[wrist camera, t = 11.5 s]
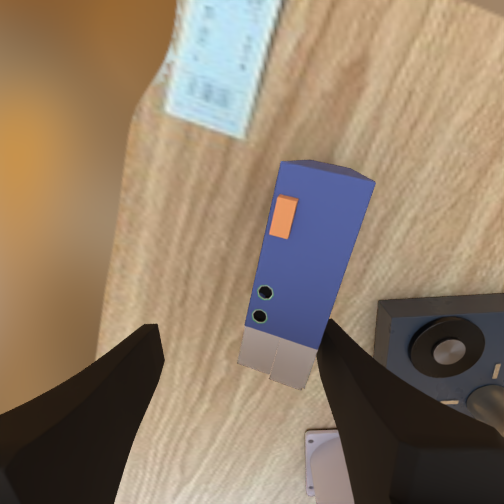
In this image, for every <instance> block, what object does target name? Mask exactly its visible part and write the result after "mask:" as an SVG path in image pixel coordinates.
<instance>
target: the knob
mask: <svg viewBox="0 0 504 504" xmlns="http://www.w3.org/2000/svg"><path fill="white" fill-rule="evenodd" d="M467 408H468V410H469V411H470V412H471V414H472V415H473V416H474V417H475V419H477V420H479V421H481V422H483V423H486V424H488V425H490V426H492V427H495V429H496V430H497V431H498V432H499V433H500V434H501V435H502V436H503V437H504V388H503V387H501V386H497V385H488V386H484V387H481V388H479V389H477V390H475V391H474V392H473V393H472V394H471V395H470V396H469V397H468V399H467Z"/></svg>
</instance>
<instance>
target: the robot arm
mask: <svg viewBox="0 0 504 504" xmlns="http://www.w3.org/2000/svg"><path fill="white" fill-rule="evenodd" d="M316 357H317V362H318V367H319V372H320V377H321V380H322V383H323V387H324V390H325V393H326V396H327V399H328V402H329V405H330V408H331V411H332V414H333V417H334V420H335V423H336V426H337V429H338V430H312V431H307V432H306V433H305V462H306V493H307V495H308V496H315V497H316V503H317V504H504V437H503V436H502V435H501V434H500V433H499V432H498V431H497V430H496V429H495V427H492V426H490V425H488V424H486V423H483V422H481V421H479V420H477V419H474V418H472V417H470V416H468V415H465V414H463V413H461V412H459V411H457V410H455V409H453V408H451V407H449V406H447V405H445V404H443V403H441V402H439V401H437V400H436V399H434V398H432V397H430V396H428V395H427V394H425V393H423V392H422V391H420V390H418V389H417V388H415V387H413V386H412V385H410V384H408V383H407V382H405V381H404V380H402V379H401V378H399V377H398V376H396V375H395V374H394V373H392V372H391V371H389V370H388V369H387V368H385V367H384V366H383V365H381V364H380V363H379V362H377V361H376V360H375V359H374V358H373V357H371V356H370V355H369V354H368V353H367V352H365V351H364V350H363V349H362V348H361V347H360V346H359V345H358V344H357V343H356V342H355V341H354V340H353V339H352V338H351V337H350V336H349V335H348V334H347V333H346V332H345V331H344V330H343V329H342V328H341V327H340V326H339V325H338V324H337V323H336V322H335V321H334V320H333V319H328V322H327V325H326V328H325V331H324V334H323V337H322V340H321V343H320V345H319V348H318V352H317V356H316ZM164 361H165V359H164V354H163V349H162V344H161V339H160V334H159V328H158V324H144V325H143V326H141V327H140V328H138V329H137V330H136V331H134V332H133V333H132V334H131V335H129V336H128V337H127V338H126V339H124V340H123V341H122V342H120V343H119V344H118V345H117V346H115V347H114V348H113V349H111V350H110V351H109V352H108V353H106V354H105V355H103V356H102V357H101V358H99V359H98V360H97V361H95V362H94V363H92V364H91V365H90V366H88V367H87V368H85V369H84V370H83V371H81V372H79V373H78V374H76V375H75V376H73V377H71V378H70V379H68V380H67V381H65V382H63V383H62V384H60V385H58V386H56V387H55V388H53V389H51V390H49V391H47V392H45V393H43V394H42V395H40V396H38V397H36V398H34V399H33V400H31V401H28V402H26V403H24V404H22V405H20V406H18V407H16V408H14V409H12V410H10V411H8V412H5V413H4V414H1V415H0V504H114V502H115V498H116V495H117V491H118V488H119V485H120V482H121V478H122V475H123V472H124V468H125V465H126V462H127V459H128V456H129V453H130V450H131V447H132V444H133V441H134V438H135V436H136V433H137V431H138V428H139V426H140V424H141V422H142V419H143V417H144V415H145V412H146V410H147V408H148V405H149V403H150V401H151V399H152V396H153V394H154V392H155V389H156V387H157V384H158V382H159V379H160V375H161V372H162V368H163V365H164Z"/></svg>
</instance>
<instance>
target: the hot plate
mask: <svg viewBox="0 0 504 504" xmlns="http://www.w3.org/2000/svg"><path fill="white" fill-rule="evenodd" d="M448 316H456V317H462V318H465V319H468V320H470V321H471V322H473V323H474V324H475V325H476V326H478V327H479V328H480V329H481V331H482V332H483V334H484V337H485V349H484V352H483V354H482V356H481V358H480V359H479V360H478V361H477V363H476V364H475V365H474V366H472V367H471V368H470V369H468V370H467V371H465V372H463V373H461V374H459V375H456V376H453V377H448V378H433V377H428V376H426V375H424V374H422V373H420V372H419V371H417V370H416V369H415V367H414V366H413V364H412V363H411V361H410V359H409V356H408V346H409V343H410V340H411V338H412V337H413V335H414V334H415V333H416V332H417V330H418V329H420V328H421V327H422V326H423V325H425V324H427V323H428V322H430V321H432V320H435V319H438V318H442V317H448ZM373 358H374V359H375V360H376V361H377V362H379V363H380V364H381V365H383V366H384V367H385V368H387V369H388V370H389V371H391V372H392V373H394V374H395V375H396V376H398V377H399V378H401V379H402V380H404V381H405V382H407V383H408V384H410V385H412V386H413V387H415V388H417V389H418V390H420V391H422V392H423V393H425V394H427V395H428V396H430V397H432V398H434V399H436V400H437V401H439V402H441V403H443V404H445V405H447V406H449V407H451V408H453V409H455V410H457V411H459V412H461V413H463V414H465V415H468V416H470V417H472V418H474V419H475V417H474V416H473V415H472V414H471V412H470V411H469V410H468V408H467V399H468V397H469V396H470V395H471V394H472V393H473V392H474V391H475V390H477V389H479V388H481V387H484V386H488V385H497V386H501V387H503V388H504V293H500V294H483V295H465V296H447V297H430V298H412V299H394V300H379V301H378V312H377V323H376V334H375V346H374V357H373Z"/></svg>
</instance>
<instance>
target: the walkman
mask: <svg viewBox="0 0 504 504" xmlns="http://www.w3.org/2000/svg"><path fill="white" fill-rule="evenodd" d="M375 184H376V183H375V181H373V180H371V179H369V178H367V177H365V176H364V175H362V174H360V173H358V172H356V171H354V170H352V169H351V168H346V167H342V166H337V165H332V164H328V163H323V162H318V161H314V160H296V161H281V163H280V168H279V172H278V177H277V181H276V186H275V190H274V195H273V199H272V204H271V208H270V213H269V217H268V222H267V226H266V231H265V235H264V240H263V244H262V249H261V253H260V258H259V262H258V267H257V271H256V276H255V280H254V285H253V289H252V294H251V298H250V303H249V307H248V312H247V316H246V321H245V330H244V334H243V339H242V343H241V347H240V352H239V356H238V361H237V363H238V364H240V365H243V366H246V367H249V368H252V369H255V370H257V371H260V372H263V373H266V374H269V375H270V377H269V379H271V380H273V381H276V382H279V383H282V384H284V385H287V386H290V387H293V388H295V389H298V390H301V389H302V388H304V389H305V386H306V383H307V380H308V378H309V375H310V372H311V369H312V366H313V363H314V360H315V357H316V354H317V352H318V348H319V345H320V343H321V340H322V337H323V334H324V331H325V328H326V325H327V322H328V319H329V317H330V314H331V311H332V308H333V305H334V302H335V299H336V296H337V293H338V291H339V288H340V285H341V282H342V279H343V276H344V273H345V270H346V267H347V265H348V262H349V259H350V256H351V253H352V250H353V247H354V244H355V242H356V239H357V236H358V233H359V230H360V227H361V224H362V221H363V218H364V216H365V213H366V210H367V207H368V204H369V201H370V198H371V195H372V192H373V190H374V187H375ZM279 341H280V342H279ZM277 348H278V349H277ZM276 352H277V353H276ZM275 355H276V356H275ZM274 359H275V360H274ZM273 362H274V363H273ZM272 366H273V367H272ZM271 369H272V370H271ZM270 373H271V374H270Z"/></svg>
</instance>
